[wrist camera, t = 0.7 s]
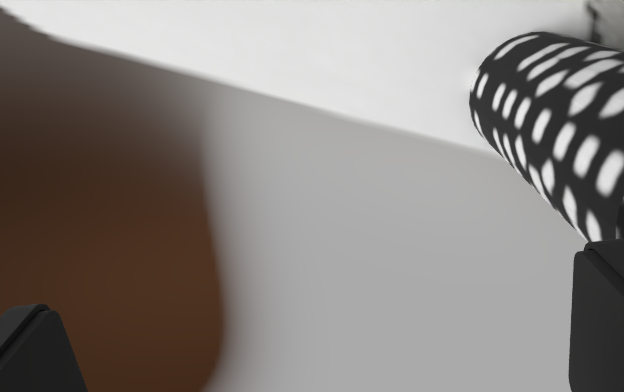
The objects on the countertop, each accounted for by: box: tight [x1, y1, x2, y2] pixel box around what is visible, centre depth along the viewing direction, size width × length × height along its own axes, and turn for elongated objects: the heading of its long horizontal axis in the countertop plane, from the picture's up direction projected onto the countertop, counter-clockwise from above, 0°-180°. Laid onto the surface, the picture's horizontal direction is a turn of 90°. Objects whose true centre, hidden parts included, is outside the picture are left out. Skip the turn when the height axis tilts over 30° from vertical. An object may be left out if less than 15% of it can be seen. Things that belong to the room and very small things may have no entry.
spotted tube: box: [469, 32, 624, 242], centre depth 28 cm, size 8×8×20 cm
